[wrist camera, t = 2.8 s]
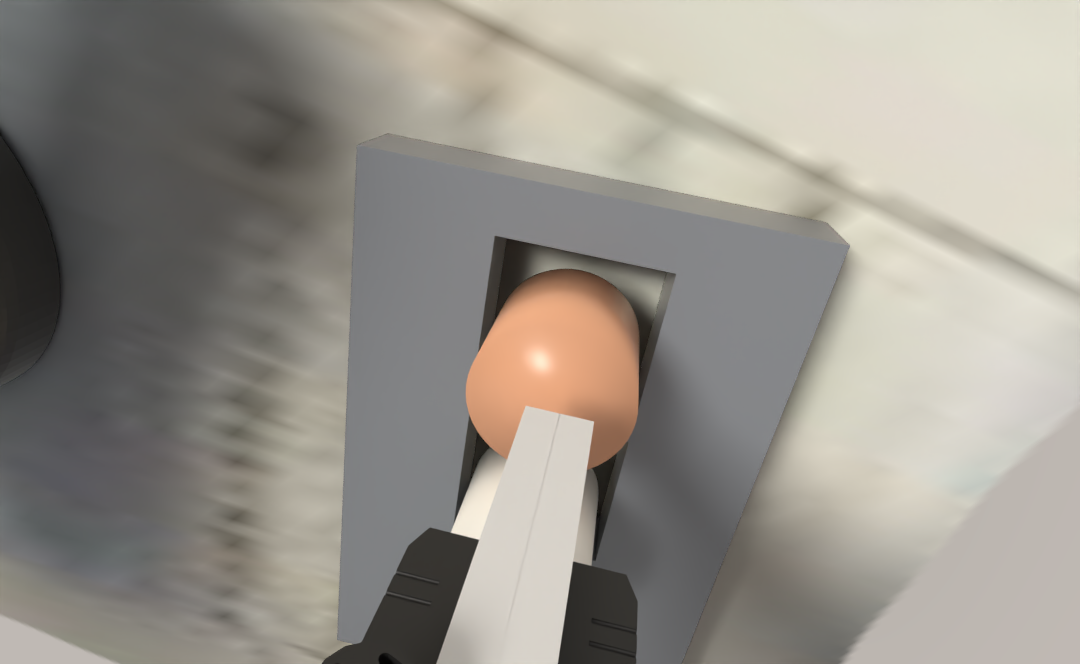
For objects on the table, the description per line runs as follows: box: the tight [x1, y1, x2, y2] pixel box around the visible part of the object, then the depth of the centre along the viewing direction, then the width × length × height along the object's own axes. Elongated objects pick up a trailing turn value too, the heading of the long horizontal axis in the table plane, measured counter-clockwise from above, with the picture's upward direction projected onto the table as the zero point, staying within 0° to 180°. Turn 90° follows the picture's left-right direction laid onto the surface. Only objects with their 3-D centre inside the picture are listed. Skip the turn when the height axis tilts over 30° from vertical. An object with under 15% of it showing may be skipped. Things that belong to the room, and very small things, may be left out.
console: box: [337, 134, 850, 664], centre depth 23 cm, size 14×21×2 cm, turn 170°
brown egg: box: [466, 269, 639, 470], centre depth 18 cm, size 4×4×4 cm
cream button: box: [451, 447, 599, 566], centre depth 20 cm, size 4×4×4 cm
